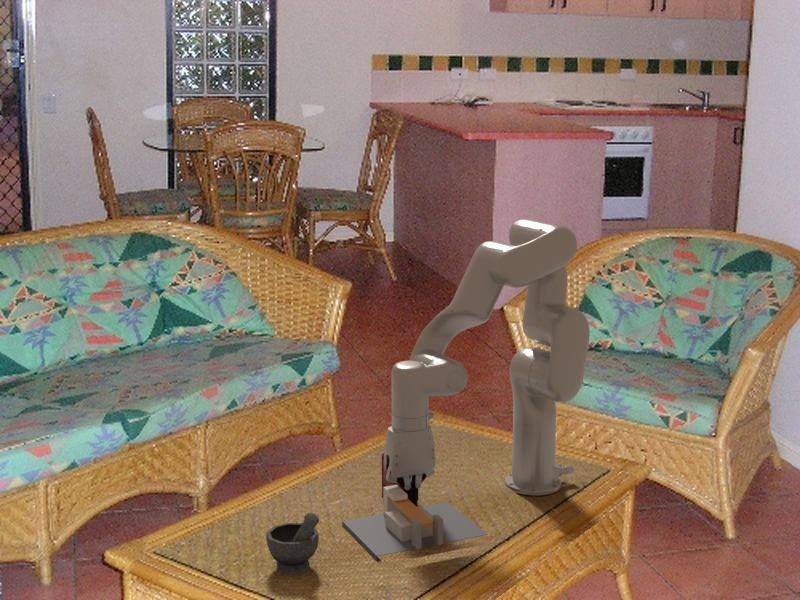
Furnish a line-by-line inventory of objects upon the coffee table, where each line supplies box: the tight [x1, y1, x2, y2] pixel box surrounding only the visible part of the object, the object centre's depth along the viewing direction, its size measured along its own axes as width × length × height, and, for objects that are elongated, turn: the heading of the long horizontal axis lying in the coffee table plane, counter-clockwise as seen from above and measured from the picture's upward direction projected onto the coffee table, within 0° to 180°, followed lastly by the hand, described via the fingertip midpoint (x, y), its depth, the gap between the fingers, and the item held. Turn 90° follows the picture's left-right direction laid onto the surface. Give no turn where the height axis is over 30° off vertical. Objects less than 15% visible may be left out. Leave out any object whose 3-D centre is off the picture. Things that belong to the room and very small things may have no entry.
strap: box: [390, 499, 434, 529], centre depth 231 cm, size 3×14×1 cm, turn 24°
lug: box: [382, 485, 408, 515], centre depth 237 cm, size 3×6×6 cm, turn 24°
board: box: [341, 501, 488, 563], centre depth 233 cm, size 24×18×6 cm
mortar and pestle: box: [265, 512, 320, 575], centre depth 217 cm, size 11×9×12 cm
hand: (410, 504), depth 241 cm, fingers closed
